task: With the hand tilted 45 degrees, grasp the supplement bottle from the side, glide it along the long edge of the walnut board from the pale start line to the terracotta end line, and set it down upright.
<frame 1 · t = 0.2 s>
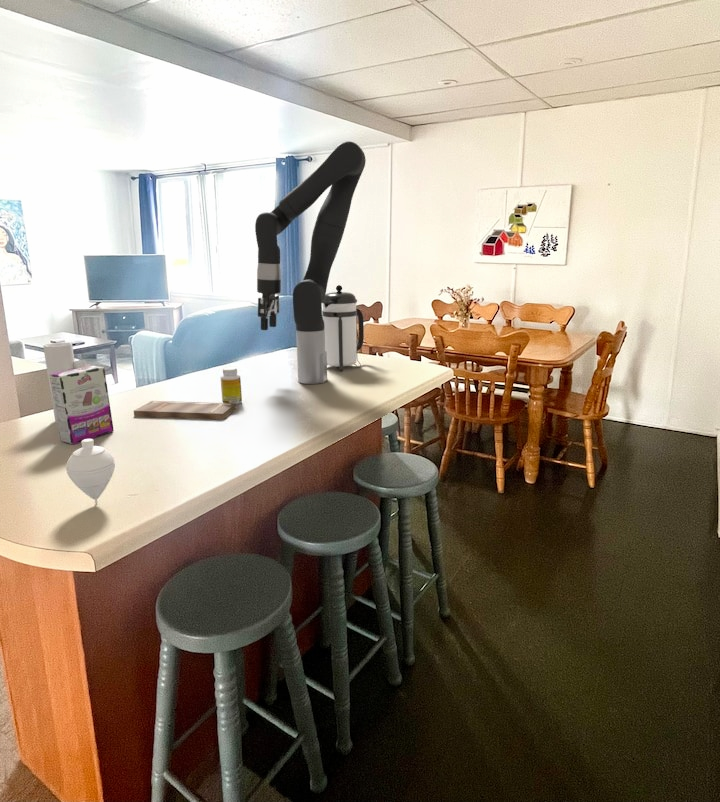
hand: (268, 328, 186), 18 cm above the table, tool pointing down, fingers open, 8 cm apart
spinning top: (96, 504, 101), on the table
supplement bottle: (232, 403, 164), on the table
candy bar box: (87, 437, 136), on the table
coffee press: (342, 367, 212), on the table
vase: (76, 421, 149), on the table
walnut board: (186, 412, 155), on the table
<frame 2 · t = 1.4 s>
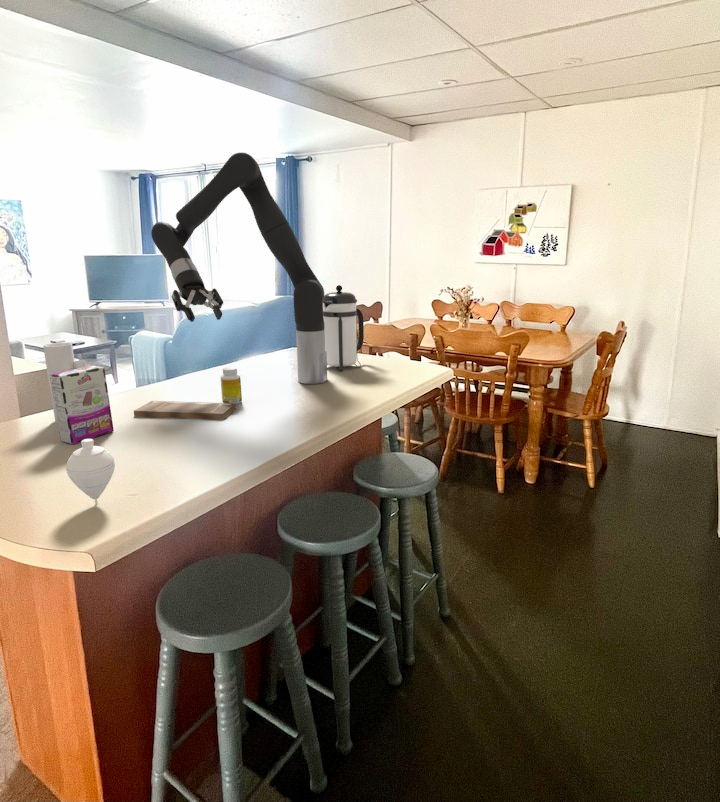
hand: (206, 319, 167), 23 cm above the table, tool tilted 45°, fingers open, 8 cm apart
nothing on the table moved.
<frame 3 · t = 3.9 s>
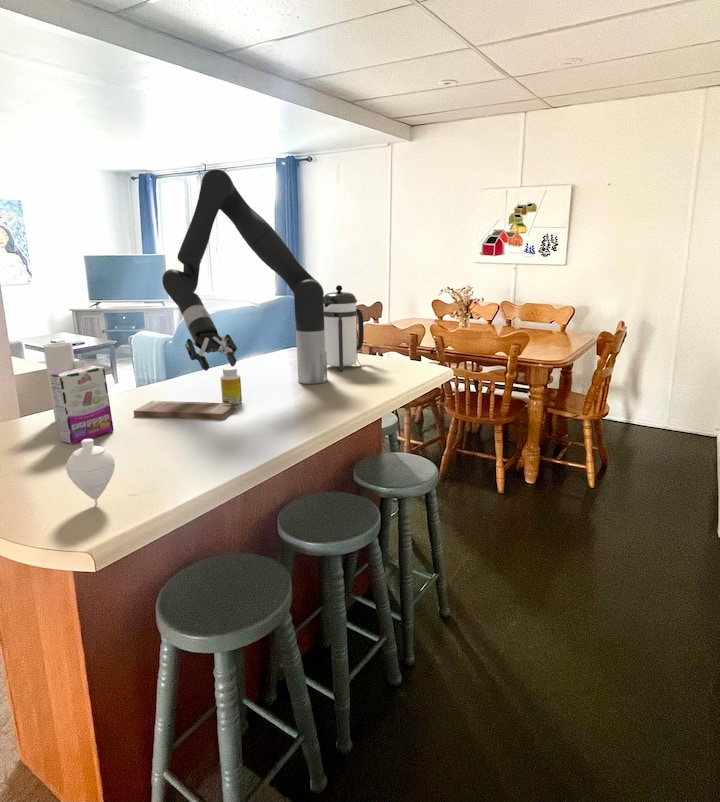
hand: (220, 366, 165), 10 cm above the table, tool tilted 45°, fingers open, 8 cm apart
nothing on the table moved.
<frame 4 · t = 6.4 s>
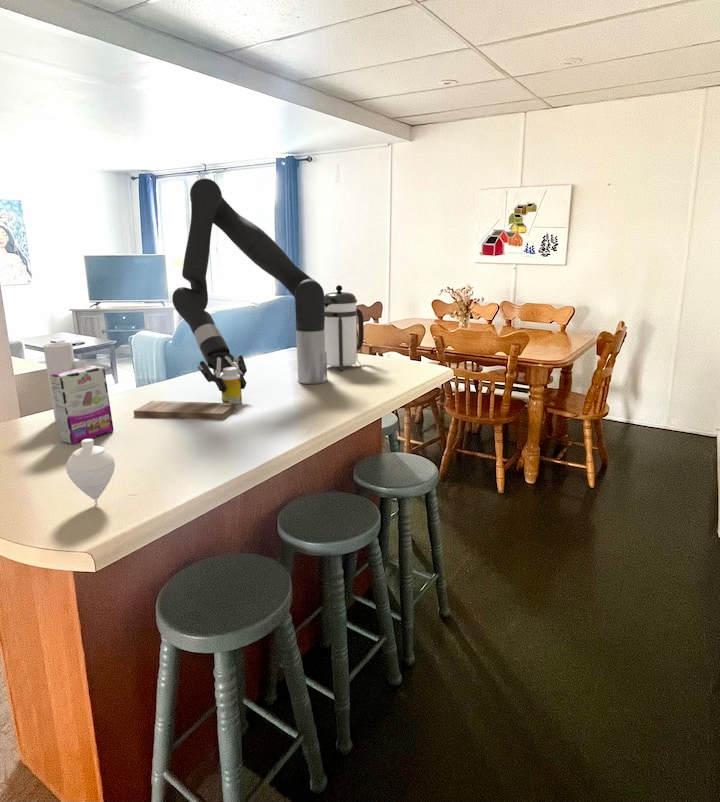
hand: (234, 389, 162), 4 cm above the table, tool tilted 45°, fingers closed on supplement bottle, 5 cm apart
supplement bottle: (232, 403, 164), on the table, touching gripper
everything else where it was.
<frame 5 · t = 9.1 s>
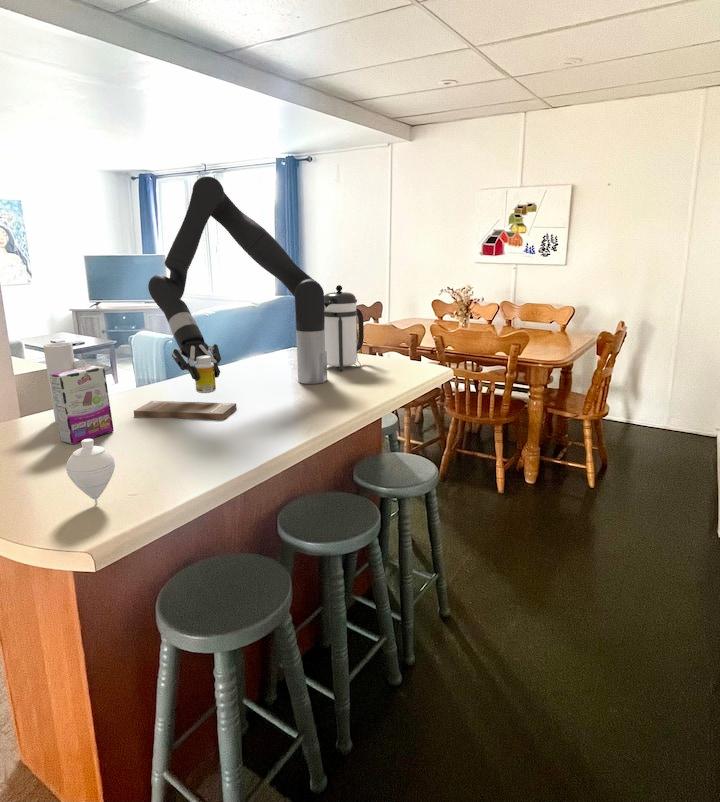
hand: (207, 377, 162), 8 cm above the table, tool tilted 45°, fingers closed on supplement bottle, 5 cm apart
supplement bottle: (206, 392, 165), point 3 cm above the table, touching gripper
everything else where it was.
when the fingers open (6 cm above the table, at t = 12.1 s): supplement bottle drops 1 cm, on the table.
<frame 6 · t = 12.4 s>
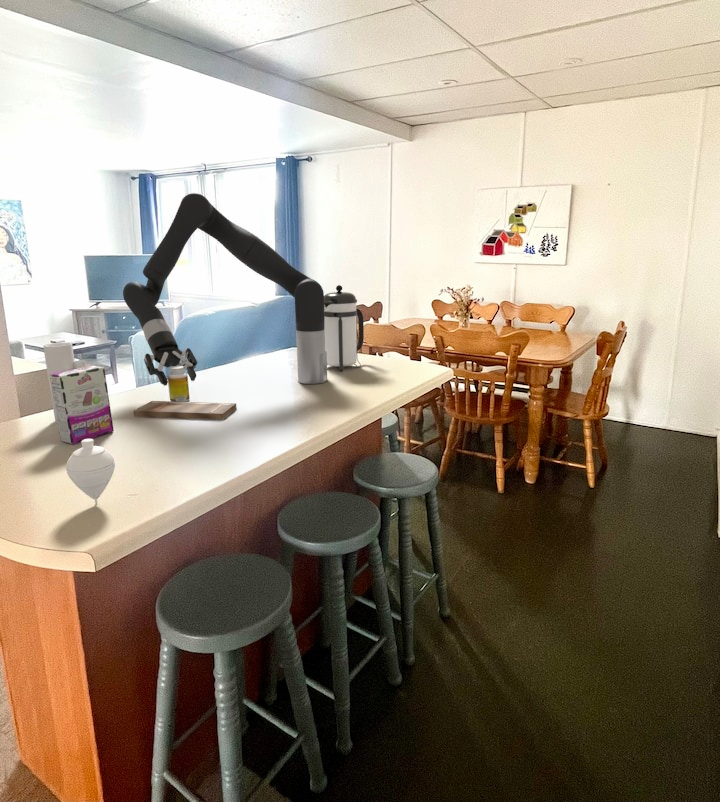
hand: (180, 381, 164), 6 cm above the table, tool tilted 45°, fingers open, 8 cm apart
supplement bottle: (180, 401, 167), on the table
everything else where it was.
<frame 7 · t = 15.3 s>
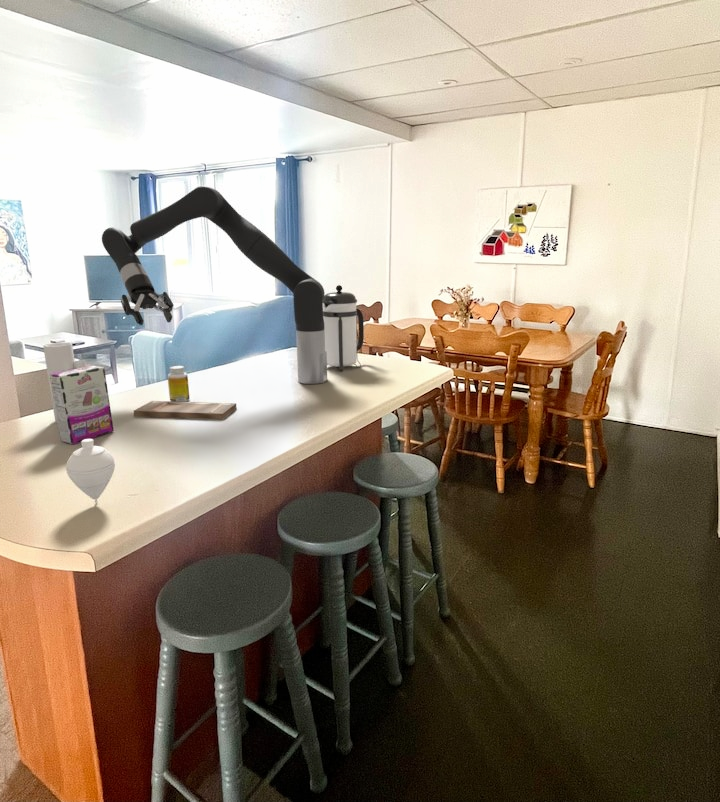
hand: (156, 322, 169), 22 cm above the table, tool tilted 45°, fingers open, 8 cm apart
nothing on the table moved.
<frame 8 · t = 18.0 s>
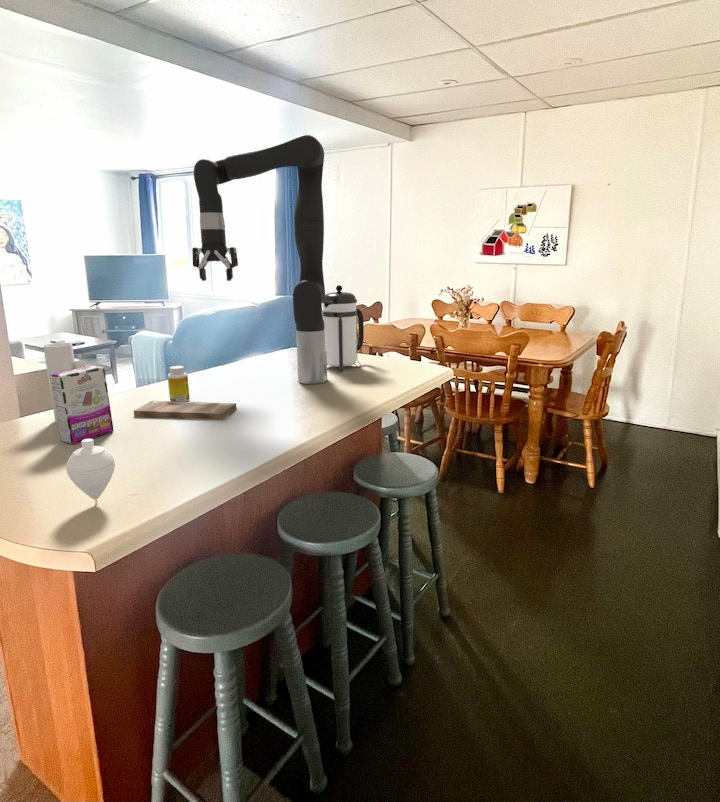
hand: (216, 280, 183), 33 cm above the table, tool pointing down, fingers open, 8 cm apart
nothing on the table moved.
at the end: supplement bottle inside the target area (0.1 cm from its centre), on the table; supplement bottle tilted 0°; the gripper is holding nothing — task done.
